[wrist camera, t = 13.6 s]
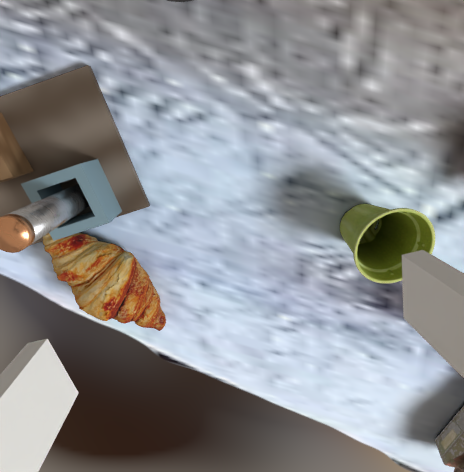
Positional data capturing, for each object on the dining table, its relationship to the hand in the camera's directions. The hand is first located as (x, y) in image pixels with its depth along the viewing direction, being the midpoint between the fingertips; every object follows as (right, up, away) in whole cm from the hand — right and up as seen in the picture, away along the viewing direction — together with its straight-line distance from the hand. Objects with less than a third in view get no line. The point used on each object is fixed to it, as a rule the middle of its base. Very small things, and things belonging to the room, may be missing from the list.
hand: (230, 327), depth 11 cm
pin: (-19, +9, +27) cm, 34 cm away
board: (-23, +12, +26) cm, 37 cm away
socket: (-19, +9, +27) cm, 34 cm away
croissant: (-17, -2, +31) cm, 36 cm away
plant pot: (+18, +5, +31) cm, 37 cm away
